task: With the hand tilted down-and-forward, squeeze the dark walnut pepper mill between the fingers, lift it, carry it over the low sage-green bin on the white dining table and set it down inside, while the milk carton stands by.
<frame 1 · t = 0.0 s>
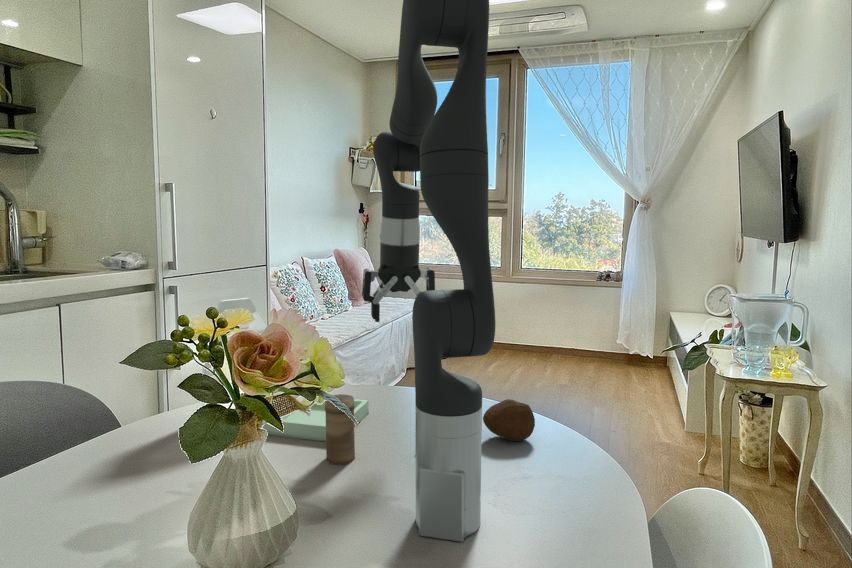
hand: (398, 319, 110), 22 cm above the table, tool pointing down, fingers open, 8 cm apart
bin: (318, 423, 115), on the table
pepper mill: (340, 458, 99), on the table
milk: (240, 422, 116), on the table
potato: (507, 440, 107), on the table
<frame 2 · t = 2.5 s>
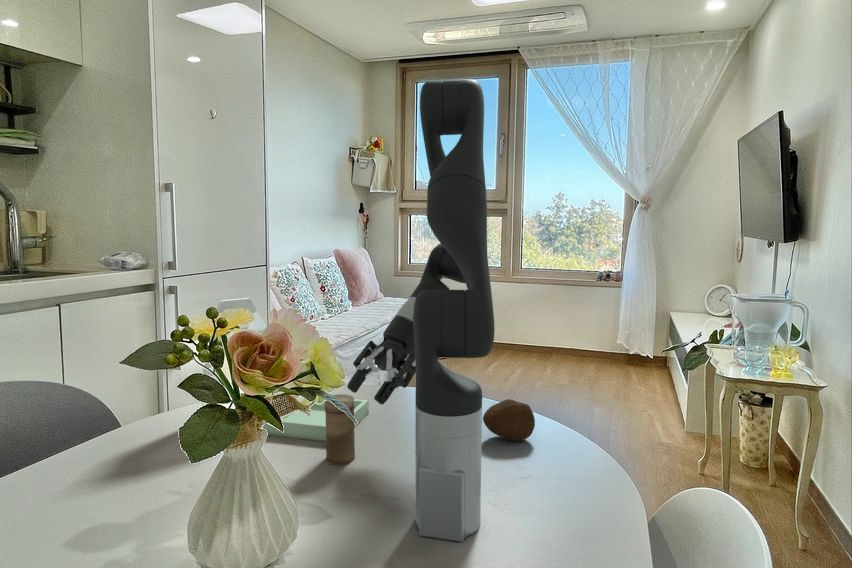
hand: (364, 395, 101), 10 cm above the table, tool tilted 45°, fingers open, 8 cm apart
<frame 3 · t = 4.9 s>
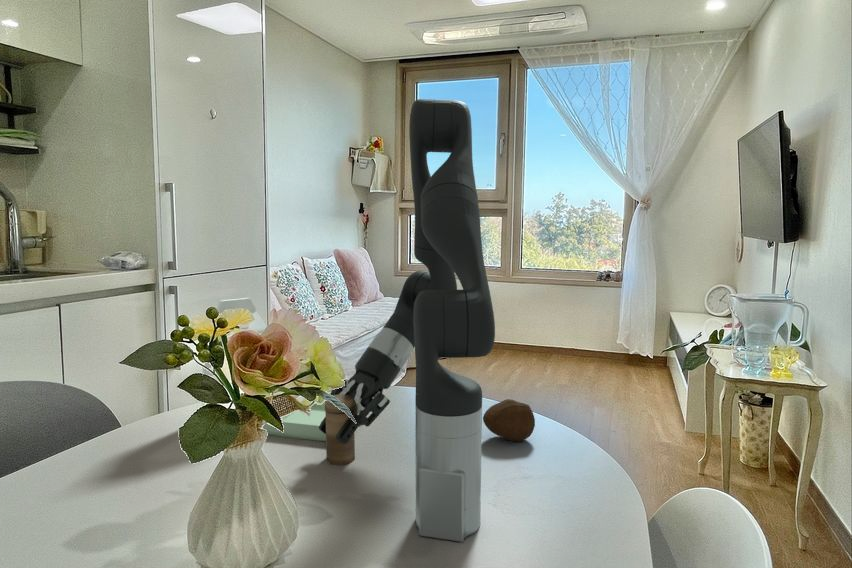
hand: (331, 436, 97), 5 cm above the table, tool tilted 45°, fingers closed on pepper mill, 5 cm apart
pepper mill: (340, 458, 99), on the table, touching gripper
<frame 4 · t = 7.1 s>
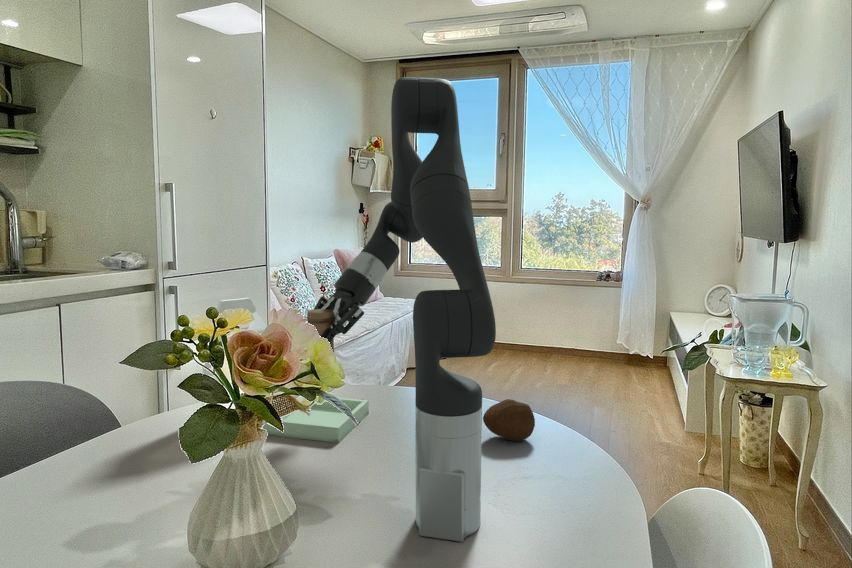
hand: (312, 343, 110), 18 cm above the table, tool tilted 45°, fingers closed on pepper mill, 5 cm apart
pepper mill: (321, 364, 112), point 13 cm above the table, touching gripper
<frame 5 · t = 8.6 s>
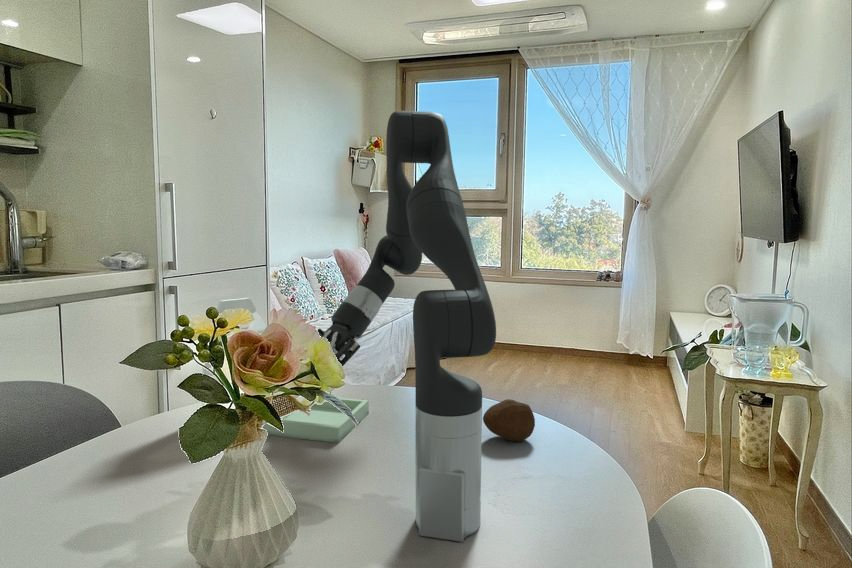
hand: (310, 376, 113), 10 cm above the table, tool tilted 45°, fingers closed on pepper mill, 5 cm apart
pepper mill: (318, 396, 114), point 6 cm above the table, touching gripper
when the fingers open (8 cm above the table, at t = 9.5 s): pepper mill drops 3 cm, resting on bin.
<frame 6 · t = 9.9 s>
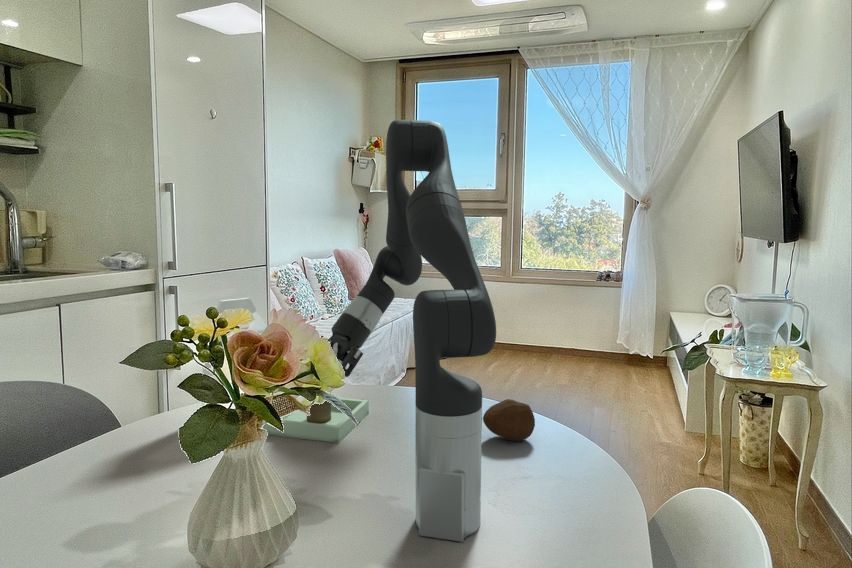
hand: (312, 384, 113), 9 cm above the table, tool tilted 45°, fingers open, 8 cm apart
pepper mill: (318, 419, 115), point 1 cm above the table, touching bin
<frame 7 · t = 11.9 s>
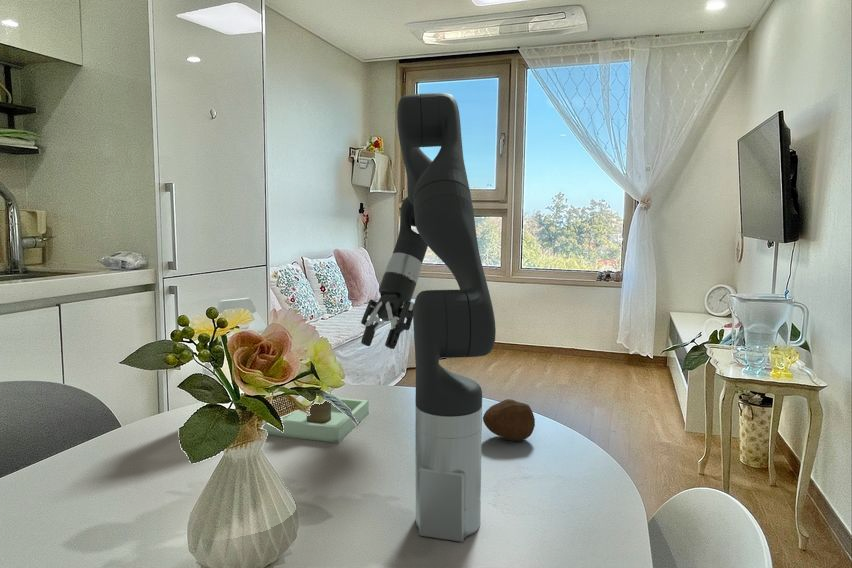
hand: (377, 346, 118), 15 cm above the table, tool tilted 30°, fingers open, 8 cm apart
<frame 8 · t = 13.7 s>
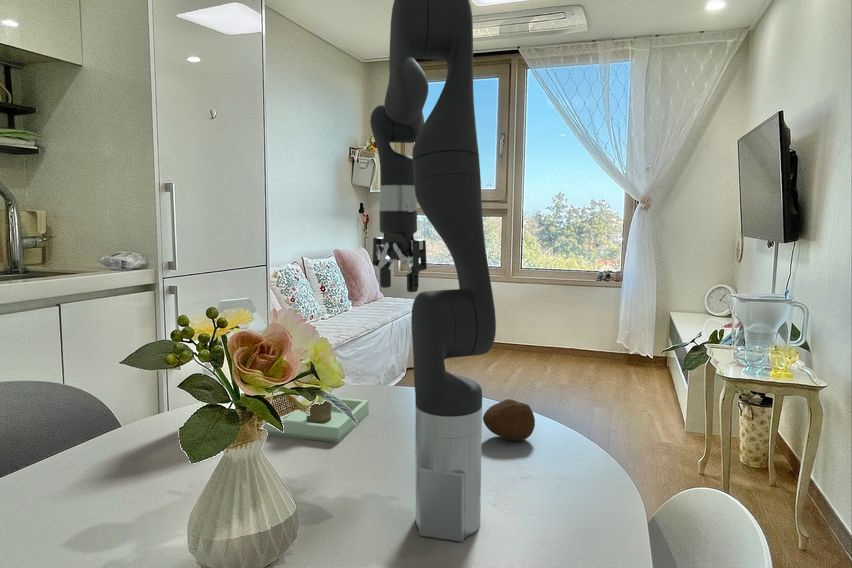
hand: (398, 289, 112), 28 cm above the table, tool pointing down, fingers open, 8 cm apart
at the end: pepper mill inside the target area on the bin (0.2 cm from its centre), point 0.8 cm above the bin's base; the gripper is holding nothing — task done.
